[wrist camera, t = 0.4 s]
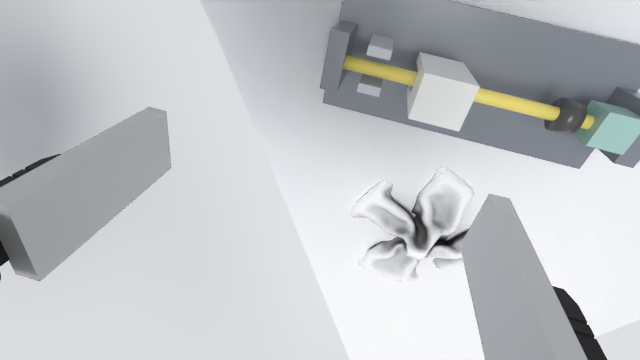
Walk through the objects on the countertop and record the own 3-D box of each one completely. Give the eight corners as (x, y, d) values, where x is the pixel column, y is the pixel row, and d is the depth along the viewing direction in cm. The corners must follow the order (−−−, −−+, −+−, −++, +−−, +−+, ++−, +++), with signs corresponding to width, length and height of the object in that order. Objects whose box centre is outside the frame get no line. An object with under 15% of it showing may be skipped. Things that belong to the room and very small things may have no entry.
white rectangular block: (406, 90, 32) (408, 118, 26) (419, 51, 30) (424, 72, 24) (447, 100, 32) (458, 131, 26) (463, 62, 30) (480, 86, 24)
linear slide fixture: (324, 99, 38) (309, 124, 32) (349, -23, 31) (336, -21, 25) (574, 163, 36) (610, 203, 30) (657, 49, 29) (726, 70, 23)
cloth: (369, 284, 53) (366, 317, 48) (326, 189, 45) (316, 217, 40) (527, 264, 45) (544, 302, 40) (508, 145, 37) (526, 173, 32)
